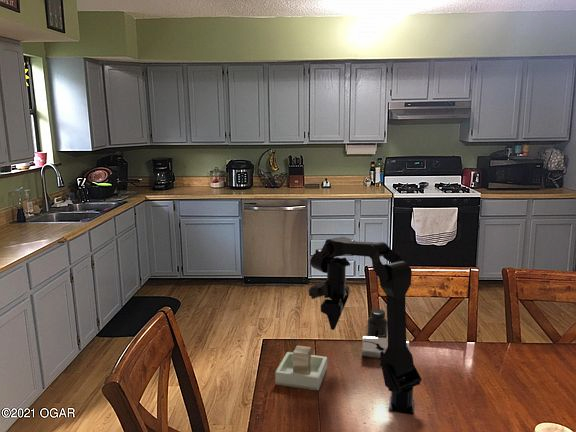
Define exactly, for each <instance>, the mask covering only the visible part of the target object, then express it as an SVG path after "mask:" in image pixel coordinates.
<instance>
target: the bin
mask: <svg viewBox="0 0 576 432" xmlns="http://www.w3.org/2000/svg"><path fill="white" fill-rule="evenodd" d="M327 370H328V357H327V356H322V355H315V354H311V372H310V374H309V375H306V374H299V373H293V351H292V352H291V351H287V352H286V353H285V355H284V357H283V359H282V360H281V362H279V366H278V367H277V368H276V370H275V375H274V376H275V377H274V378H275V385H277V386H284V387H291V388H298V389H304V390H312V391H319V390H320V388H321V386H322V383H323V380H324V378H325V374H326V372H327Z"/></svg>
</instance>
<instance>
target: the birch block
mask: <svg viewBox="0 0 576 432" xmlns="http://www.w3.org/2000/svg"><path fill="white" fill-rule="evenodd" d="M292 353H293V373H299V374H306V375H309V374H310V372H311V355H312V347H311V346H304V345H296V347H295V349H294V350H293V351H292Z"/></svg>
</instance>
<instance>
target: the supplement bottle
mask: <svg viewBox="0 0 576 432" xmlns="http://www.w3.org/2000/svg"><path fill="white" fill-rule="evenodd" d="M366 328H367V329H366V336H380V337H384V338H388V331H387V318H386V311H385V310H383V309H380V308H374V309H371V310H370V317H369V318H368V319H367V327H366Z"/></svg>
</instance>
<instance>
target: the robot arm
mask: <svg viewBox="0 0 576 432" xmlns="http://www.w3.org/2000/svg"><path fill="white" fill-rule="evenodd" d="M341 256H355V257H356V256H357V257H358V256H359V257H369V258H370V260H371V262H372V264H371V265H372V270H373V272H374V273H375V274H376V275H377V277H378V278H379V285H380V288H381V289H382V290H383V292H384V294H385V295H386V320H387V338H388V347H387V349H386V350H384V351H381V353H380V357H381V358H380V364H379V366H380V367H381V372H382V376H383V382H384V386H385V387H386V388H387V389H388V391H389V392H391V393H390V394H391V395H390V397H389V401H388V403H389V406H388V411H391V412H397V413H404V414H411V415H414V411H415V409H414V408H415V400H414V399H413V398H414V387H416V386H419V385H421V383H422V377H421V374H420V373H419V372H418V370H417V368H416V365H415V364H414V357H413V354H412V353H411V351H410V348H409V349H408V348H407V343H406V341H407V313H406V312H407V311H406V310H407V309H406V294H407V293H408V291H409V288H410V286H411V284H412V275H413V274H412V273H413V272H412V268H411V266H410V265H409V264H408V263H407V261H406V260H405V259H404V258H403V256H402V255H400V254H399V253H397V252H396V251H395V250H393V249H391V248H390V246H389V245H388V244H387V243H386V242H384V241H380V242H379V241H377V242H374V241H354V240H352V239H351V238H349V237H345V236H339V237H334V238H329V239H326V240H325V242H324V244H323V246H322V248H317V249H315V253H313V255H312V256H311V258H310V260H309V262H310V266H311V267H312V268H313V269H314V270H317V271H320V272H322V273H325V274H326V281H324V282H323V281H322V282H319V283H317V284H313V285H310V287H309V288H308V296H309V297H311V300H314V299H315V300H316V299H317V298H320V297H324V298H325V299H324V300H323V301H322V302H321V305H320V312H321V313H323V314H325V315H326V317H327V319H328V323H329V327H330V330H333V331H334V330H336V327H337V325H338V322H339V320H340V318H341V315H342V313H343V310H344V308H345V307H346V306H345V305H346V304H347V301H348V299H349V295H350V292H351V290H350V287H349V285H347V284H346V283H347V277H346V272H347V271H346V267H349V266H351V263H350V261H349V260H347V258H346V257H342V258H341ZM381 257H383V258H384V259H385V260H386V261H388V262H389V263H385V264H383V262H382V261H381Z"/></svg>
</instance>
